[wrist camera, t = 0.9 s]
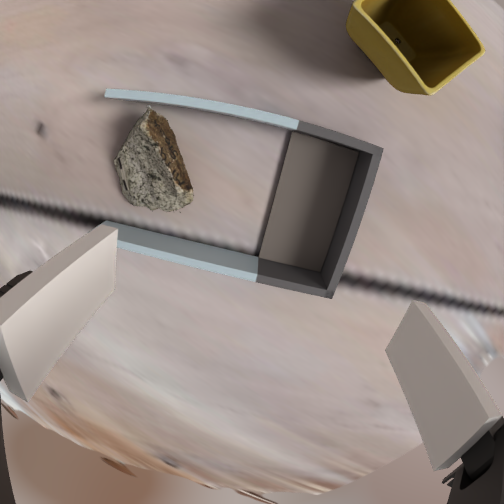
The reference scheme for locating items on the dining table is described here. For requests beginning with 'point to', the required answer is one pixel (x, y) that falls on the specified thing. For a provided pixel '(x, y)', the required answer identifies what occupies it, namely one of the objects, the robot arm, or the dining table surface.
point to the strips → (182, 248)
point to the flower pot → (414, 41)
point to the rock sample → (153, 166)
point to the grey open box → (316, 210)
